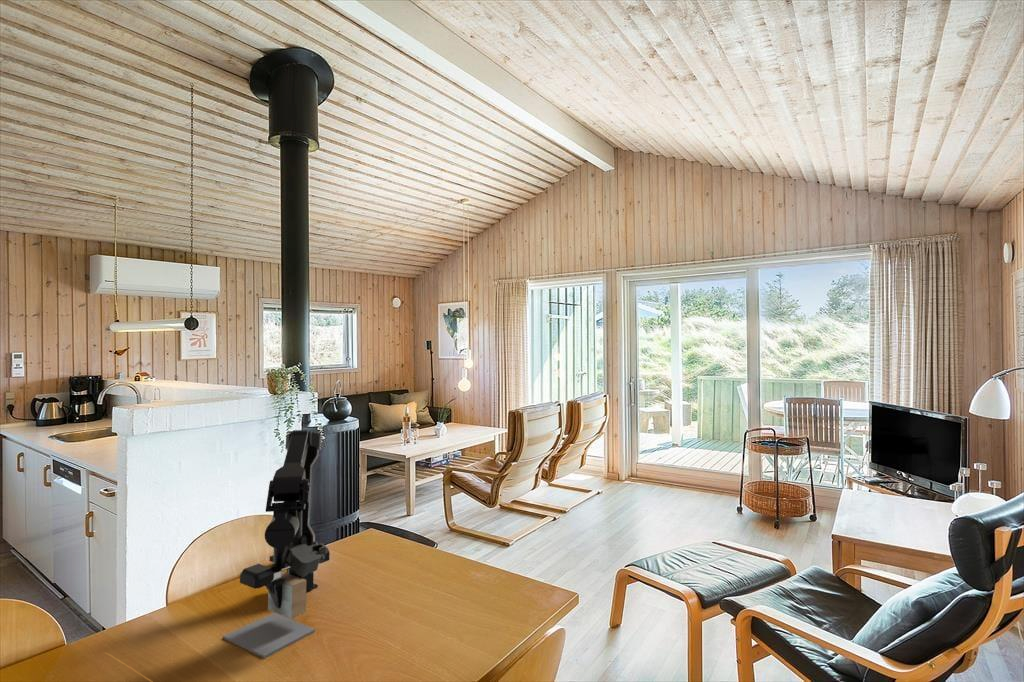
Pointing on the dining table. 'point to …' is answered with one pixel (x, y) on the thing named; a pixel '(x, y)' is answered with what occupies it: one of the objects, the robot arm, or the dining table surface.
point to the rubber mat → (268, 634)
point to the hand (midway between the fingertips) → (286, 604)
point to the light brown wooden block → (290, 597)
